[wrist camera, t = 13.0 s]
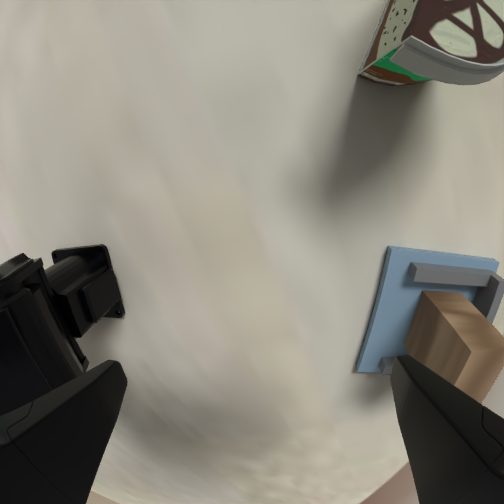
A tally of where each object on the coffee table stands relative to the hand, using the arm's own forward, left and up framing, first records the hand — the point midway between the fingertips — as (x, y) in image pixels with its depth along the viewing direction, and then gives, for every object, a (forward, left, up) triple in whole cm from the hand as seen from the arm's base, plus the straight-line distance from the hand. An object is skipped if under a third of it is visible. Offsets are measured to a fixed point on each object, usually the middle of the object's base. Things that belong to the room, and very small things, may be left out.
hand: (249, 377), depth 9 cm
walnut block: (+13, -7, -12) cm, 19 cm away
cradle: (+13, -7, -13) cm, 20 cm away
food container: (+12, +14, -13) cm, 23 cm away
